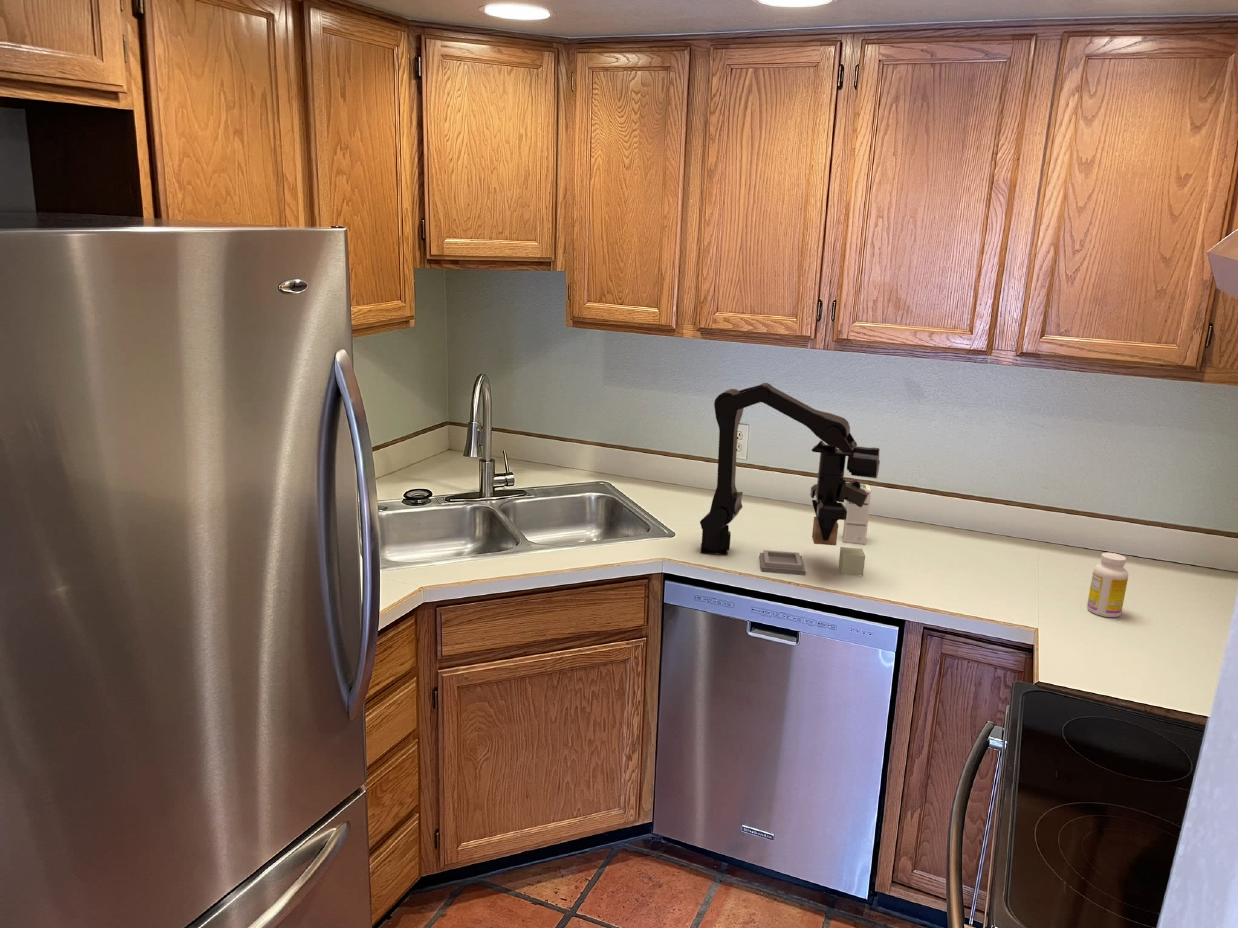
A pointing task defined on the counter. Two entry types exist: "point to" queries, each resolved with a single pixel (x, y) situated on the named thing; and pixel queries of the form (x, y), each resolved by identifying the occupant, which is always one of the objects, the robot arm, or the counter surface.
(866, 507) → the syrup box
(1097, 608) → the supplement bottle
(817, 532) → the walnut block
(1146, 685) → the counter surface
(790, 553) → the base plate
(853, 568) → the sage block
